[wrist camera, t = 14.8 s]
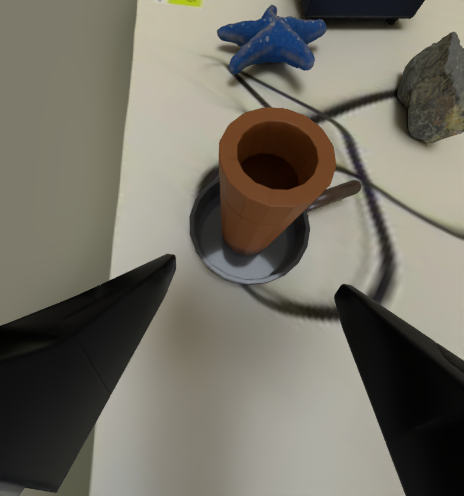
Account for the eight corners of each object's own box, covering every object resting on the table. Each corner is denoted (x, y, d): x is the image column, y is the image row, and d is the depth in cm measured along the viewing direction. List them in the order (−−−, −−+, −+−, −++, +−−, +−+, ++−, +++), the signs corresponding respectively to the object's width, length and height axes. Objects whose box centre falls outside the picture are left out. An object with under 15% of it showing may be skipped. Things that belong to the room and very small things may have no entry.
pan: (216, 301, 20) (214, 304, 17) (181, 204, 23) (174, 190, 19) (314, 261, 22) (330, 256, 18) (271, 175, 24) (278, 157, 21)
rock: (507, 128, 22) (467, 102, 20) (435, 161, 29) (396, 145, 26) (476, 35, 26) (437, 1, 23) (417, 84, 32) (381, 62, 29)
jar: (247, 266, 21) (283, 231, 8) (212, 230, 22) (194, 149, 9) (281, 232, 22) (358, 155, 9) (246, 199, 23) (273, 90, 10)
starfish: (315, 25, 33) (330, -20, 28) (324, 97, 29) (344, 58, 24) (219, 17, 32) (219, -31, 27) (214, 89, 28) (212, 47, 23)
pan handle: (294, 218, 21) (300, 211, 19) (287, 206, 21) (293, 198, 20) (356, 195, 22) (367, 187, 20) (349, 183, 23) (360, 175, 21)
